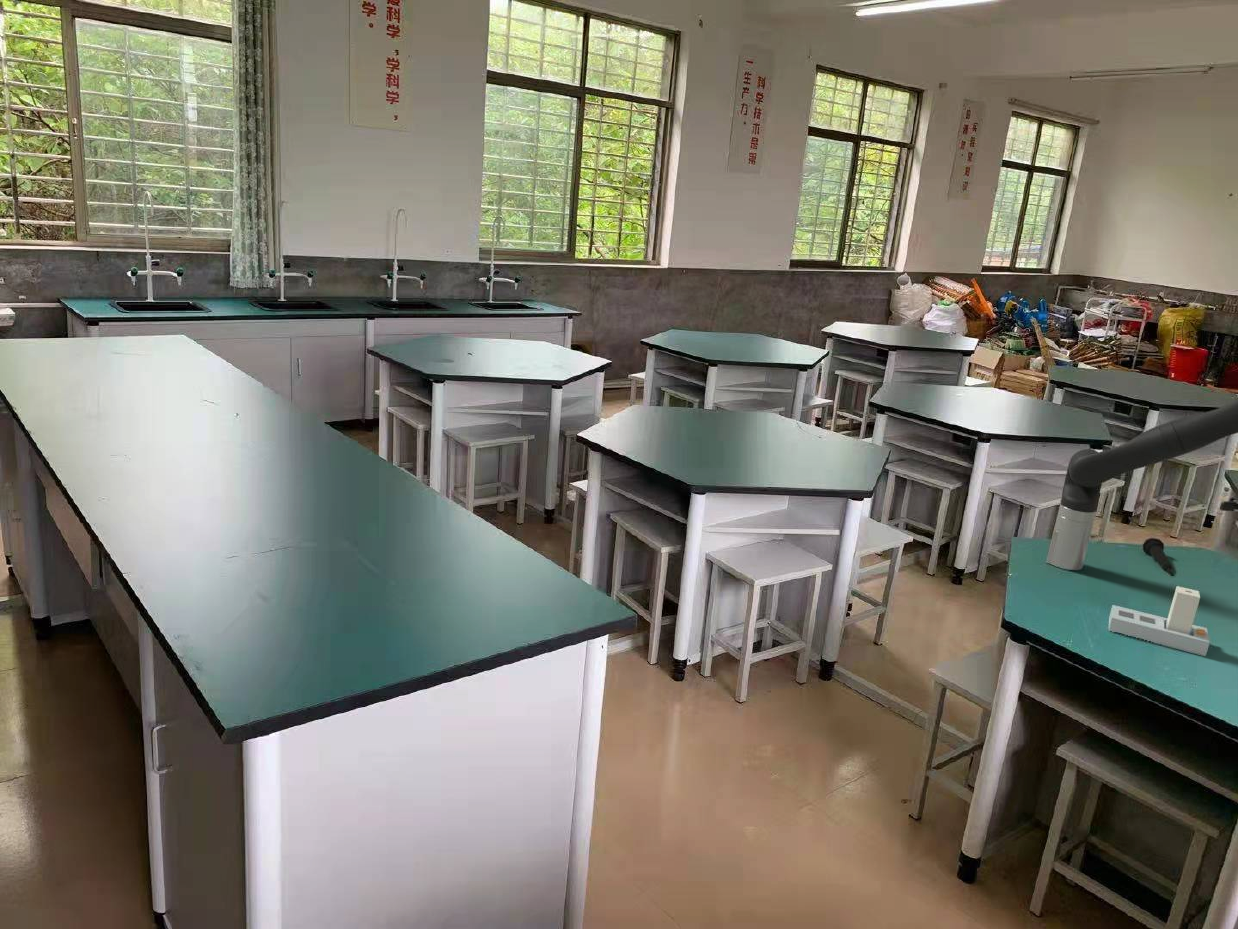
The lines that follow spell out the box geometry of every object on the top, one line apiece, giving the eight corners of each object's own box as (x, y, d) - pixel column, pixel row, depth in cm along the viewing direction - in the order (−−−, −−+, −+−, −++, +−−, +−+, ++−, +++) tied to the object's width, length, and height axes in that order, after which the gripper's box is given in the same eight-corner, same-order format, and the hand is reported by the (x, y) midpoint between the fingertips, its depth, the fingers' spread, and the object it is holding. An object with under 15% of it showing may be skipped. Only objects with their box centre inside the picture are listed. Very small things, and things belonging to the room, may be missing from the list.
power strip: (1108, 631, 217) (1112, 615, 216) (1109, 617, 225) (1113, 602, 224) (1205, 656, 208) (1210, 640, 207) (1202, 641, 216) (1207, 626, 215)
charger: (1164, 639, 214) (1177, 591, 210) (1163, 632, 218) (1176, 585, 214) (1186, 644, 212) (1200, 597, 208) (1185, 637, 216) (1198, 590, 212)
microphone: (1174, 586, 258) (1152, 554, 276) (1187, 571, 256) (1164, 539, 274) (1156, 578, 259) (1136, 546, 277) (1169, 562, 256) (1147, 531, 274)
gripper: (1271, 488, 225) (1216, 487, 222) (1324, 508, 212) (1266, 507, 208) (1262, 517, 227) (1207, 516, 224) (1314, 538, 214) (1257, 537, 210)
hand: (1236, 512), depth 216 cm, fingers open, 8 cm apart
